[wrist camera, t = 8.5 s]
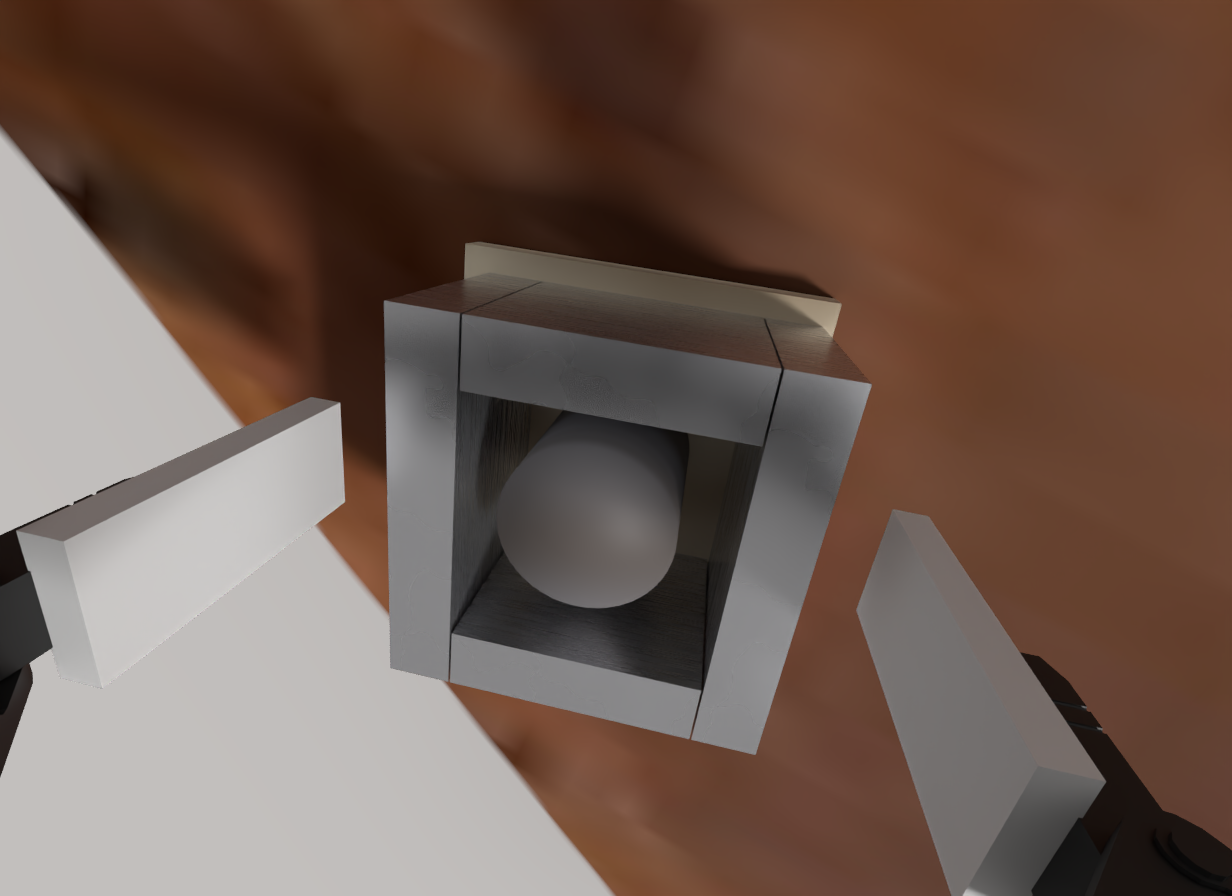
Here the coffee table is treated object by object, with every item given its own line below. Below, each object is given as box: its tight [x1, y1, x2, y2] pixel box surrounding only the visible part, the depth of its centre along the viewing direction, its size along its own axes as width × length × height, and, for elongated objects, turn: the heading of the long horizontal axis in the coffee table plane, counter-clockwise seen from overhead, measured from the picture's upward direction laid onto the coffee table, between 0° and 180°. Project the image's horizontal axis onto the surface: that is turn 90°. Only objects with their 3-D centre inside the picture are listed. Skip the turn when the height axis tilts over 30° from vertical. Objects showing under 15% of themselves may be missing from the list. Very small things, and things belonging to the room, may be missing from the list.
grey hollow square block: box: [384, 273, 872, 755], centre depth 15 cm, size 9×9×6 cm
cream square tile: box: [464, 242, 842, 608], centre depth 16 cm, size 10×10×6 cm
